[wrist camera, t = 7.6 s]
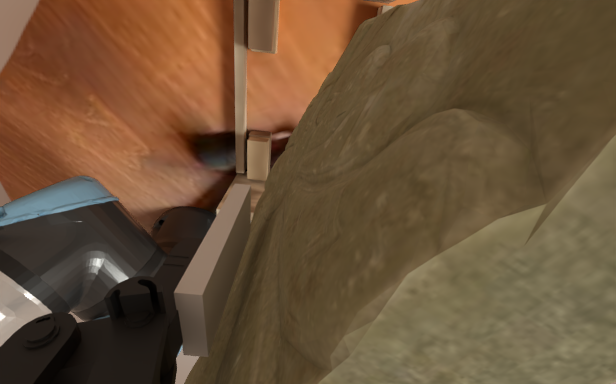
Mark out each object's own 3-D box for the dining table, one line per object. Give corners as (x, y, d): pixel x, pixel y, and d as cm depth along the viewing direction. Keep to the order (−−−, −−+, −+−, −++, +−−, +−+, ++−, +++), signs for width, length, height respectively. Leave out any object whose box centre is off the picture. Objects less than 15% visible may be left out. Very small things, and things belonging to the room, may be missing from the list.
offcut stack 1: (254, 50, 38) (248, 51, 34) (256, -13, 35) (248, -20, 31) (277, 53, 38) (272, 54, 35) (280, -10, 35) (275, -16, 31)
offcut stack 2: (251, 171, 47) (245, 183, 43) (252, 129, 44) (245, 138, 40) (269, 173, 47) (265, 185, 43) (271, 131, 44) (267, 141, 40)
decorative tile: (357, 6, 19) (496, -837, 1) (432, 54, 19) (1341, 77, 2) (249, 212, 27) (54, 520, 9) (303, 241, 28) (221, 582, 10)
